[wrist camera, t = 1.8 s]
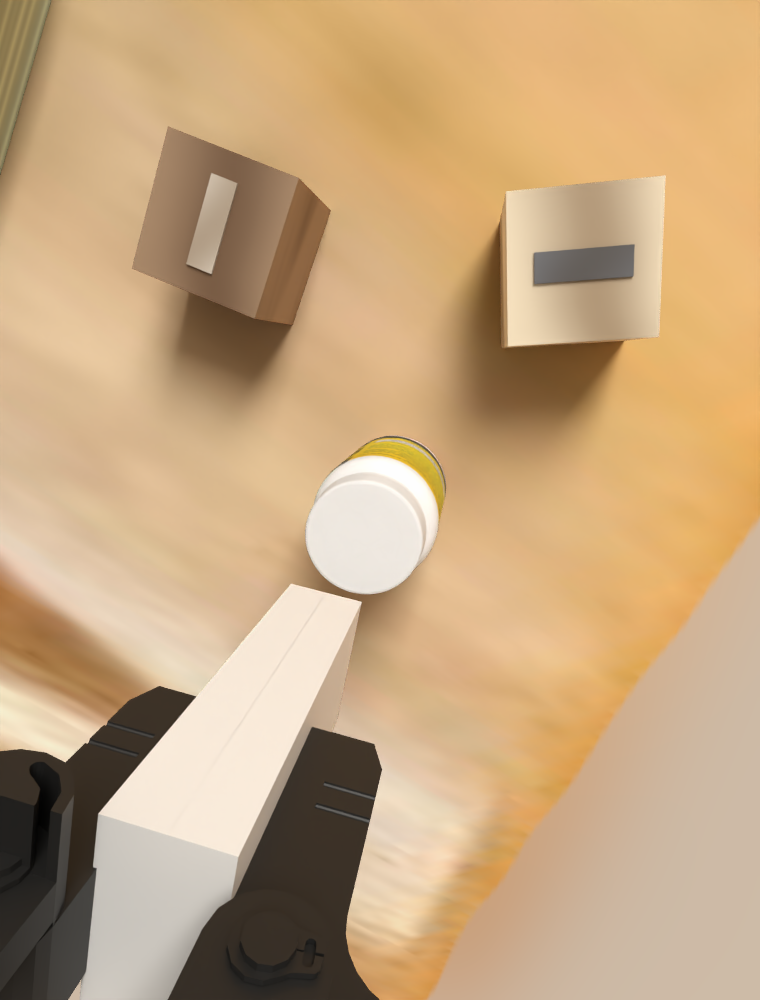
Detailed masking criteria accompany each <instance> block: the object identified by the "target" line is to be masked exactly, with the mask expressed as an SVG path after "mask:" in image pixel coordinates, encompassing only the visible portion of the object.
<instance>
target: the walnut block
mask: <svg viewBox="0 0 760 1000" xmlns="http://www.w3.org/2000/svg"><path fill="white" fill-rule="evenodd" d="M330 211H331V210H330V209H329V208H328V207H327V206H326V205H325V204H324V203H323V202H322V201H321V200H320V199H319V198H318V197H317V196H316V195H315V194H314V193H313V192H312V191H311V190H310V189H309V188H308V187H307V186H306V185H305V184H304V183H303V182H302V181H301V180H300V179H299V178H297V177H295V176H292V175H290V174H287V173H285V172H282V171H280V170H277V169H274V168H272V167H269V166H267V165H264V164H262V163H259V162H257V161H254V160H252V159H249V158H247V157H244V156H242V155H239V154H237V153H234V152H231V151H229V150H226V149H224V148H221V147H219V146H216V145H214V144H211V143H209V142H206V141H204V140H201V139H199V138H196V137H193V136H191V135H188V134H186V133H183V132H181V131H178V130H176V129H173V128H171V127H168V129H167V133H166V137H165V141H164V145H163V149H162V153H161V157H160V160H159V164H158V168H157V172H156V176H155V180H154V184H153V188H152V192H151V196H150V200H149V204H148V208H147V211H146V215H145V219H144V223H143V227H142V231H141V235H140V239H139V243H138V247H137V251H136V255H135V258H134V262H133V266H132V269H134V270H137V271H139V272H141V273H144V274H146V275H149V276H151V277H154V278H156V279H159V280H161V281H163V282H166V283H168V284H171V285H173V286H176V287H178V288H181V289H183V290H185V291H188V292H190V293H193V294H195V295H198V296H200V297H203V298H205V299H207V300H210V301H212V302H215V303H217V304H220V305H222V306H225V307H227V308H229V309H232V310H234V311H237V312H239V313H242V314H244V315H247V316H249V317H252V318H254V319H259V320H265V321H271V322H277V323H283V324H289V325H293V322H294V319H295V316H296V313H297V310H298V307H299V304H300V301H301V298H302V295H303V292H304V289H305V286H306V283H307V280H308V277H309V274H310V271H311V268H312V265H313V262H314V259H315V256H316V253H317V250H318V247H319V244H320V241H321V238H322V235H323V232H324V229H325V226H326V223H327V220H328V217H329V214H330Z"/></svg>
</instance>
